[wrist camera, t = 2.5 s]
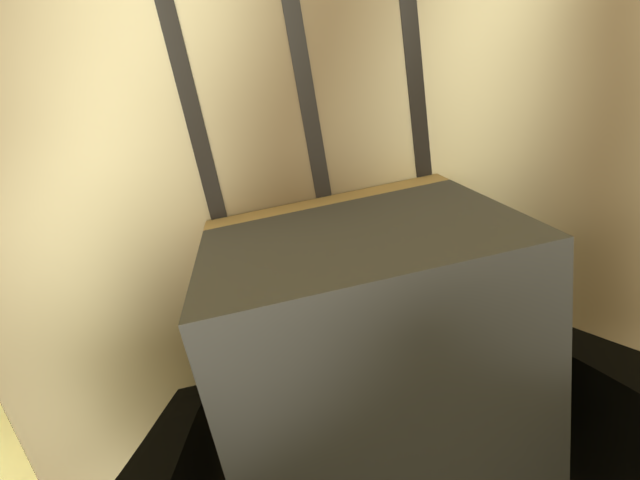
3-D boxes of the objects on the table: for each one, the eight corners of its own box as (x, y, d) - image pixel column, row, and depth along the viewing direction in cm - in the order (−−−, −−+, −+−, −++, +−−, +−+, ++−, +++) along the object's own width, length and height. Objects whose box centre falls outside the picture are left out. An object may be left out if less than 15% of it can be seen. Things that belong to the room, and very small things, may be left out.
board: (658, -461, 7) (709, -527, 6) (610, 443, 13) (633, 466, 13) (-334, -383, 6) (-422, -453, 5) (111, 579, 12) (101, 613, 11)
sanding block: (437, 173, 9) (573, 237, 5) (463, 484, 12) (566, 670, 8) (205, 221, 9) (178, 325, 5) (287, 531, 11) (310, 751, 8)
